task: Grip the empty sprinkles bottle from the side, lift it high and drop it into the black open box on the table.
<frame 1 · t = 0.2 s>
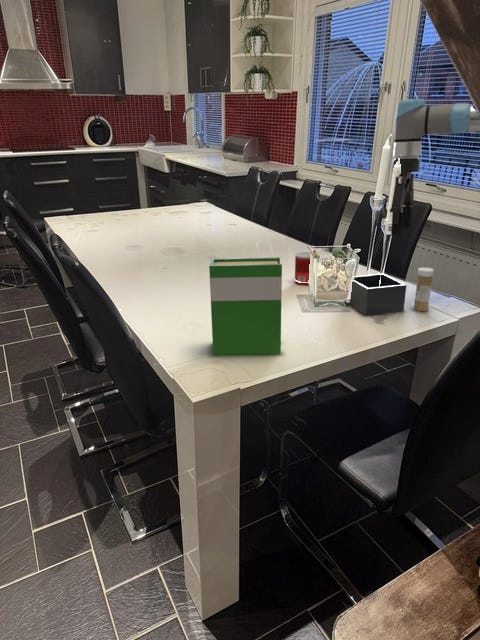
hand: (401, 230, 143), 25 cm above the table, tool pointing down, fingers open, 13 cm apart
sprinkles bottle: (420, 309, 151), on the table
black open box: (373, 306, 154), on the table
hardback book: (246, 349, 125), on the table
canned food: (305, 283, 180), on the table
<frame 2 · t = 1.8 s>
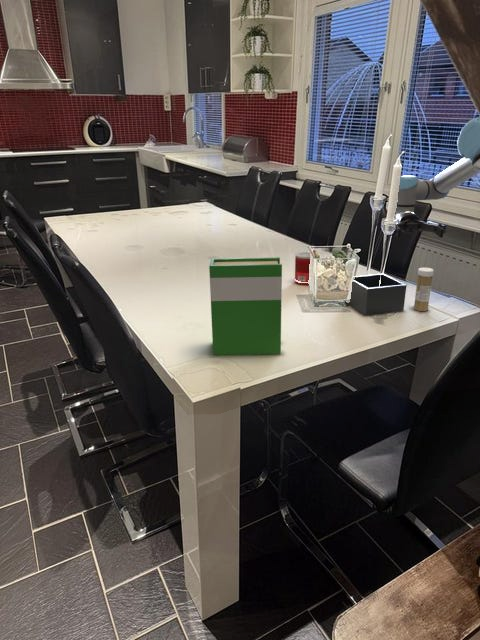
hand: (420, 233, 155), 22 cm above the table, tool horizontal, fingers open, 13 cm apart
nothing on the table moved.
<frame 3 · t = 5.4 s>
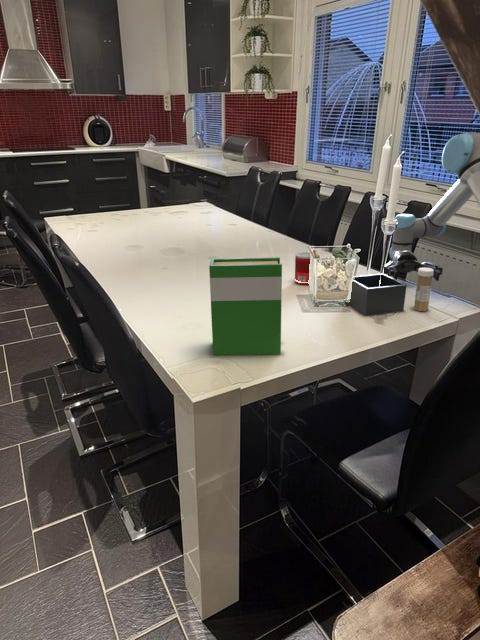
hand: (417, 276, 157), 8 cm above the table, tool horizontal, fingers open, 13 cm apart
nothing on the table moved.
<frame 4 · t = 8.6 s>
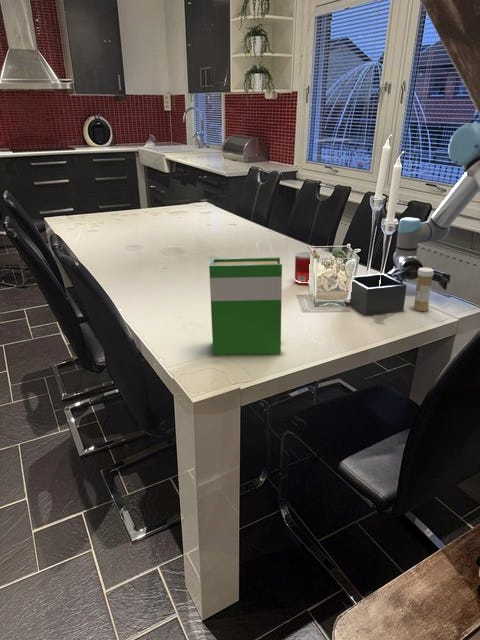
hand: (423, 284, 149), 8 cm above the table, tool horizontal, fingers open, 13 cm apart
nothing on the table moved.
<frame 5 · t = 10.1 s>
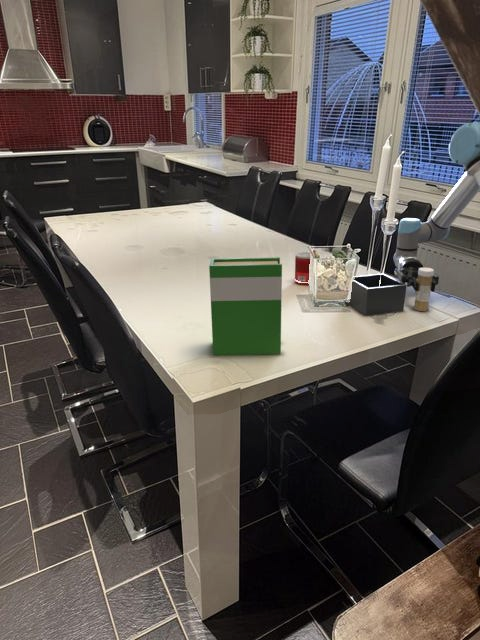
hand: (425, 287, 146), 8 cm above the table, tool horizontal, fingers closed on sprinkles bottle, 4 cm apart
sprinkles bottle: (420, 309, 151), on the table, touching gripper
everything else where it was.
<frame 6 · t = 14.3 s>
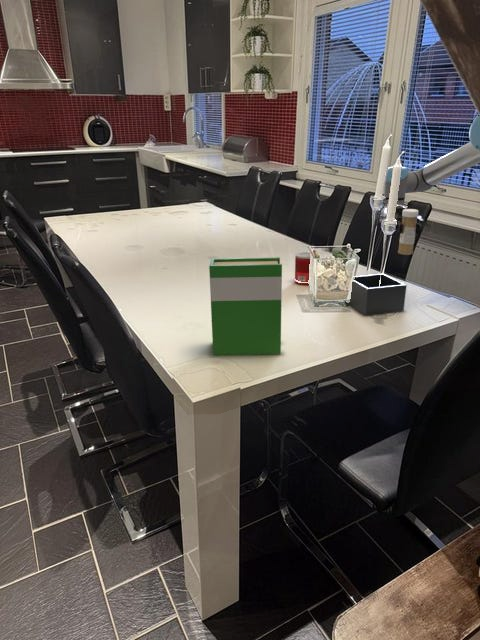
hand: (409, 228, 141), 26 cm above the table, tool horizontal, fingers closed on sprinkles bottle, 4 cm apart
sprinkles bottle: (405, 254, 146), point 18 cm above the table, touching gripper
everything else where it was.
when the fingers open (16 cm above the table, at t = 18.7 s): sprinkles bottle drops 6 cm, resting on black open box.
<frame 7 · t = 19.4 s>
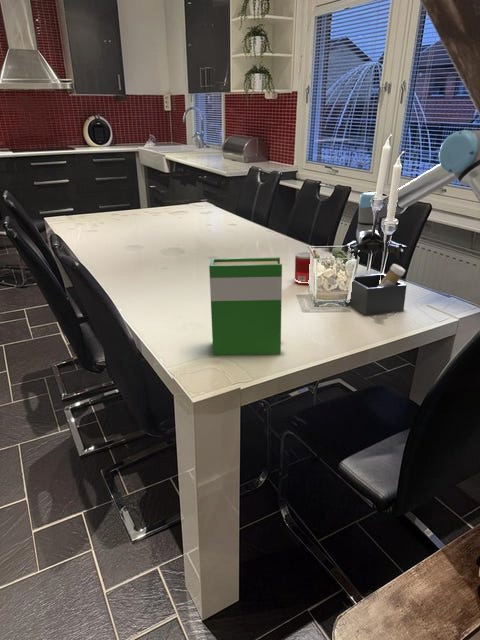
hand: (378, 255, 148), 17 cm above the table, tool horizontal, fingers open, 13 cm apart
sprinkles bottle: (375, 301, 153), point 2 cm above the table, touching black open box
everything else where it was.
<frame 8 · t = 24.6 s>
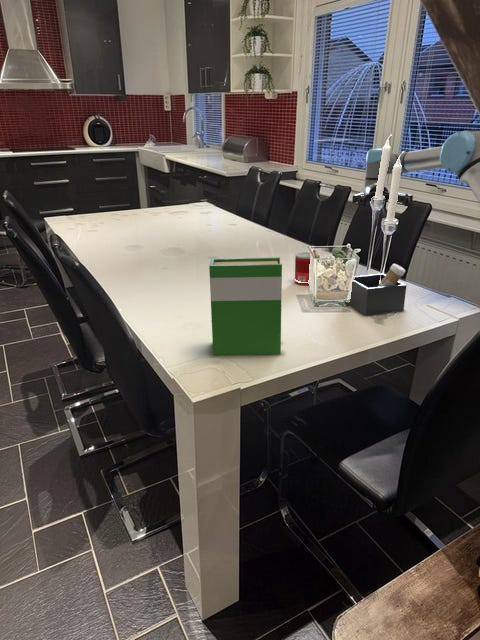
hand: (385, 202, 154), 32 cm above the table, tool horizontal, fingers open, 13 cm apart
nothing on the table moved.
at the end: sprinkles bottle inside the target area in the black open box (0.5 cm from its centre), point 1.6 cm above the black open box's base; the gripper is holding nothing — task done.
